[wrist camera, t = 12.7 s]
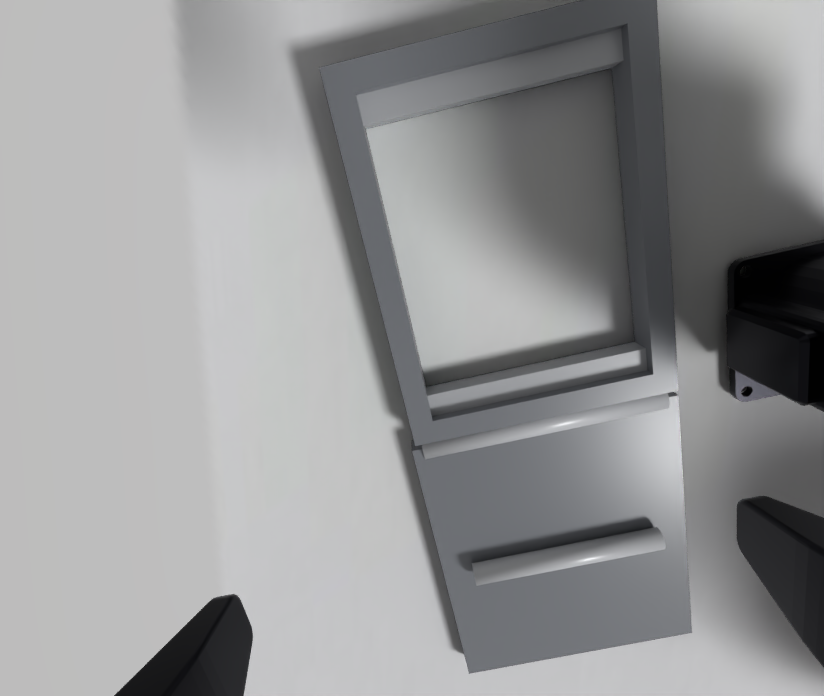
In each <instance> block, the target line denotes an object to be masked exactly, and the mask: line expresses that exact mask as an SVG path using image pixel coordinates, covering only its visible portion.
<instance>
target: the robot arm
mask: <svg viewBox="0 0 824 696" xmlns="http://www.w3.org/2000/svg"><path fill="white" fill-rule="evenodd" d="M744 266H745V268H746V270H745V273H744V274H743V275H740V270H741V269H742V268H743V267H744ZM726 322H727V364H728V366H729V372H730V393H731V395H732V396H733V397H735V398H736V399H738V400H740V401H743V402H744V401H751V400H756V399H761V398H766V397H771V396H776V395H780V394H781V395H783V396H785V397H787V398H788V399H790V400H792V401H794V402H796V403H798V404H800V405H804V406H805V405H811V406H813V407H815V408H817V409H819V410H821V411H823V412H824V240H820V241H816V242H811V243H807V244H802V245H798V246H794V247H789V248H785V249H780V250H776V251H771V252H767V253H762V254H758V255H753V256H749V257H744V258H740V259H737V260H735V261H734V262H733V263H731V265H730V266H729V268H728V313H727V315H726ZM746 386H747V387H746ZM744 387H746V390H745V391H744V392H742V393H741V391H742V389H743V388H744ZM737 542H738V545H739V548H740V550H741V552H742V553H743V555H744V556H745V558H746V559H747V561H748V562H749V564H750V565H751V567H752V568H753V570H754V571H755V573H756V574H757V576H758V577H759V578H760V580H761V581H762V583H763V584H764V586H765V587H766V589H767V590H768V592H769V593H770V595H771V596H772V598H773V599H774V600H775V602H776V603H777V605H778V606H779V608H780V609H781V611H782V612H783V614H784V615H785V617H786V618H787V620H788V621H789V623H790V624H791V625H792V627H793V628H794V630H795V631H796V632H797V634H798V635H799V637H800V638H801V639H802V641H803V642H804V643H805V645H806V646H807V647H808V648H809V650H810V651H811V652H812V654H813V655H814V656H815V657H816V659H817V660H818V661H819V662H820V663H821V665H822V666H823V667H824V518H822V517H820V516H817V515H814V514H812V513H809V512H807V511H804V510H801V509H799V508H796V507H793V506H791V505H788V504H785V503H783V502H780V501H777V500H775V499H772V498H769V497H766V496H758V497H752V498H747V499H742V500H740V501H739V502H738V504H737ZM252 640H253V633H252V627H251V624H250V622H249V619H248V617H247V615H246V612H245V610H244V607H243V605H242V602H241V600H240V598H239V597H238V596H237V595H235V594H230V595H225V596H220V597H216V598H213V599H212V600H211V601H210V602H209V603H208V604H207V605H205V606H204V608H203V609H201V611H199V612H198V613H197V614H196V616H194V617H193V618H192V619H191V620H190V621H189V622H188V623H187V624H186V625H185V626H184V627H183V628H182V629H181V630H180V631H179V632H178V633H177V634H176V635H175V636H174V637H173V638H172V639H171V640H170V641H169V642H168V643H167V644H166V645H165V646H164V647H163V648H162V649H161V650H160V651H159V652H158V653H157V654H156V655H155V656H154V657H153V658H152V659H151V660H150V661H149V662H148V663H147V664H146V665H145V666H144V667H143V668H142V669H141V670H140V671H139V672H138V673H137V674H136V675H135V676H134V677H133V678H132V679H131V680H130V681H129V682H128V683H127V684H126V685H125V686H124V687H123V688H122V689H121V690H120V691H119V692H117V693H116V694H115V695H114V696H244V690H245V684H246V678H247V672H248V666H249V659H250V653H251V647H252Z"/></svg>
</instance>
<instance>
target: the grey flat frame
mask: <svg viewBox="0 0 824 696" xmlns="http://www.w3.org/2000/svg"><path fill="white" fill-rule="evenodd" d="M610 68H612V78H613V90H614V102H615V114H616V125H617V137H618V149H619V161H620V173H621V185H622V197H623V208H624V220H625V232H626V244H627V256H628V268H629V279H630V291H631V303H632V315H633V327H634V339H635V342H631V343H627V344H622V345H618V346H613V347H608V348H604V349H599V350H595V351H590V352H585V353H581V354H576V355H572V356H567V357H562V358H558V359H553V360H548V361H544V362H539V363H535V364H530V365H525V366H521V367H516V368H512V369H507V370H502V371H498V372H493V373H489V374H484V375H479V376H475V377H470V378H466V379H461V380H456V381H452V382H447V383H442V384H438V385H433V386H429V387H426V384H425V380H424V375H423V371H422V367H421V363H420V358H419V354H418V350H417V346H416V341H415V337H414V333H413V329H412V324H411V320H410V316H409V312H408V307H407V303H406V299H405V295H404V290H403V286H402V282H401V278H400V273H399V269H398V265H397V261H396V256H395V252H394V248H393V244H392V239H391V235H390V231H389V227H388V222H387V218H386V214H385V210H384V205H383V201H382V197H381V193H380V188H379V184H378V180H377V176H376V172H375V167H374V163H373V159H372V155H371V150H370V146H369V142H368V138H367V133H366V129H368V128H372V127H376V126H380V125H384V124H388V123H392V122H396V121H400V120H404V119H408V118H412V117H416V116H420V115H424V114H428V113H432V112H436V111H440V110H444V109H448V108H452V107H456V106H460V105H464V104H468V103H472V102H477V101H481V100H485V99H489V98H493V97H497V96H501V95H505V94H509V93H513V92H517V91H521V90H525V89H529V88H533V87H537V86H541V85H545V84H549V83H553V82H557V81H561V80H565V79H569V78H573V77H577V76H581V75H585V74H589V73H593V72H598V71H602V70H606V69H610ZM319 69H320V73H321V77H322V81H323V85H324V89H325V93H326V97H327V101H328V105H329V108H330V112H331V116H332V120H333V124H334V128H335V132H336V136H337V140H338V144H339V148H340V152H341V156H342V160H343V164H344V168H345V171H346V175H347V179H348V183H349V187H350V191H351V195H352V199H353V203H354V207H355V211H356V215H357V219H358V223H359V227H360V231H361V234H362V238H363V242H364V246H365V250H366V254H367V258H368V262H369V266H370V270H371V274H372V278H373V282H374V286H375V290H376V294H377V297H378V301H379V305H380V309H381V313H382V317H383V321H384V325H385V329H386V333H387V337H388V341H389V345H390V349H391V353H392V357H393V360H394V364H395V368H396V372H397V376H398V380H399V384H400V388H401V392H402V396H403V400H404V404H405V408H406V412H407V416H408V420H409V424H410V427H411V431H412V435H413V439H414V440H412V453H413V457H414V461H415V465H416V469H417V473H418V476H419V480H420V484H421V488H422V492H423V496H424V500H425V504H426V508H427V511H428V515H429V519H430V523H431V527H432V531H433V535H434V539H435V542H436V546H437V550H438V554H439V558H440V562H441V566H442V570H443V574H444V577H445V581H446V585H447V589H448V593H449V597H450V601H451V605H452V609H453V612H454V616H455V620H456V624H457V628H458V632H459V636H460V640H461V644H462V647H463V651H464V655H465V659H466V663H467V667H468V671H469V674H470V673H475V672H480V671H486V670H491V669H497V668H502V667H508V666H513V665H519V664H524V663H529V662H535V661H540V660H546V659H551V658H557V657H562V656H568V655H573V654H579V653H584V652H589V651H595V650H600V649H606V648H611V647H617V646H622V645H628V644H633V643H638V642H644V641H649V640H655V639H660V638H666V637H671V636H677V635H682V634H688V633H692V627H691V610H690V592H689V574H688V557H687V539H686V521H685V503H684V486H683V468H682V450H681V433H680V415H679V397H678V395H677V394H676V393H675V391H678V374H677V356H676V338H675V320H674V303H673V285H672V267H671V249H670V231H669V214H668V196H667V178H666V160H665V143H664V125H663V107H662V89H661V71H660V54H659V36H658V18H657V0H581V1H577V2H573V3H569V4H565V5H561V6H557V7H553V8H549V9H546V10H542V11H538V12H534V13H530V14H526V15H522V16H518V17H514V18H510V19H506V20H503V21H499V22H495V23H491V24H487V25H483V26H479V27H475V28H471V29H467V30H464V31H460V32H456V33H452V34H448V35H444V36H440V37H436V38H432V39H428V40H425V41H421V42H417V43H413V44H409V45H405V46H401V47H397V48H393V49H389V50H386V51H382V52H378V53H374V54H370V55H366V56H362V57H358V58H354V59H350V60H347V61H343V62H339V63H335V64H331V65H327V66H323V67H319Z"/></svg>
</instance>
